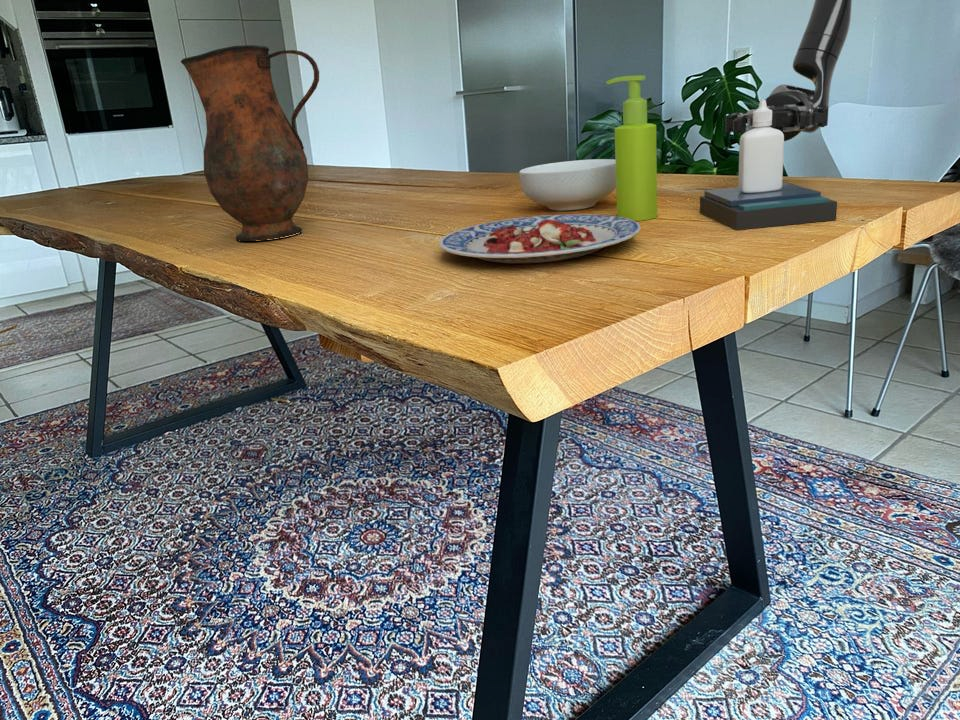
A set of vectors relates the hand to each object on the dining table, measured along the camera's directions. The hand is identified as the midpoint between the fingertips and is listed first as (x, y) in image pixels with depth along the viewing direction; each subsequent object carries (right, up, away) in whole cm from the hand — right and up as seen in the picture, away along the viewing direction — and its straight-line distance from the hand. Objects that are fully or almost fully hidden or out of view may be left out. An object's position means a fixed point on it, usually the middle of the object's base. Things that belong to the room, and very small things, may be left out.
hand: (770, 123), depth 105 cm
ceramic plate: (-34, -20, -10) cm, 40 cm away
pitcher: (-76, -13, +21) cm, 80 cm away
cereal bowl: (-26, -8, +20) cm, 34 cm away
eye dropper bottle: (-3, -11, -3) cm, 11 cm away
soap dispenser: (-18, -13, +5) cm, 23 cm away
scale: (-2, -14, -3) cm, 14 cm away
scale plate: (-3, -11, -3) cm, 12 cm away
